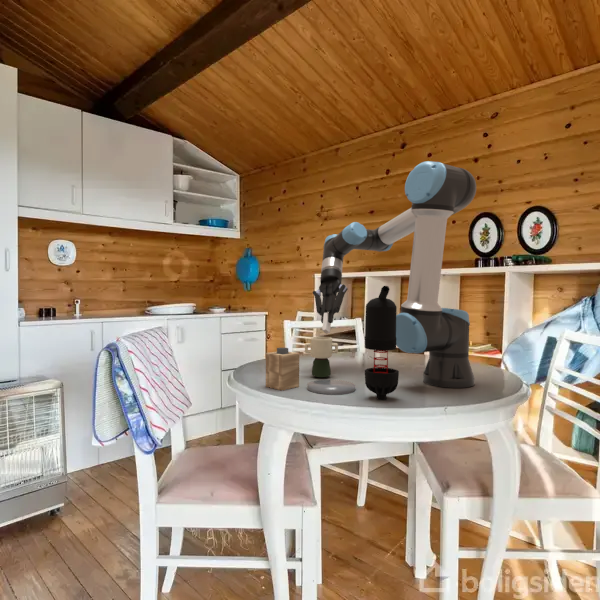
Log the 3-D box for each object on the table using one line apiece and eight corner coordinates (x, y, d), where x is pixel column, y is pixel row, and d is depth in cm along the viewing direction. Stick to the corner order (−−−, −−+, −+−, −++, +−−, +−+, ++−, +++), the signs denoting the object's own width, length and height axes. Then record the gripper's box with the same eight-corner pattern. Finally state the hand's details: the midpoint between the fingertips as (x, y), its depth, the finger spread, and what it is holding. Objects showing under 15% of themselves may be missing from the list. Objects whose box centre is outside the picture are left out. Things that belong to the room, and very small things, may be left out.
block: (299, 386, 131) (299, 353, 131) (282, 390, 126) (282, 355, 126) (282, 383, 136) (282, 350, 136) (265, 386, 131) (265, 353, 131)
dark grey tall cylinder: (290, 382, 131) (290, 348, 131) (282, 383, 129) (282, 349, 129) (282, 380, 134) (282, 347, 133) (274, 382, 131) (274, 348, 131)
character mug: (337, 375, 149) (337, 336, 149) (338, 379, 142) (338, 339, 142) (304, 374, 150) (304, 336, 149) (304, 379, 142) (304, 338, 142)
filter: (404, 404, 112) (405, 285, 112) (368, 404, 112) (369, 285, 111) (390, 391, 126) (391, 286, 125) (358, 391, 125) (359, 285, 125)
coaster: (364, 388, 129) (365, 384, 129) (335, 397, 119) (335, 392, 119) (327, 381, 139) (327, 377, 139) (297, 388, 129) (297, 384, 129)
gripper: (352, 274, 159) (348, 333, 147) (320, 282, 165) (314, 339, 153) (343, 263, 153) (338, 323, 141) (310, 271, 160) (303, 329, 148)
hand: (326, 331), depth 147 cm, fingers closed
